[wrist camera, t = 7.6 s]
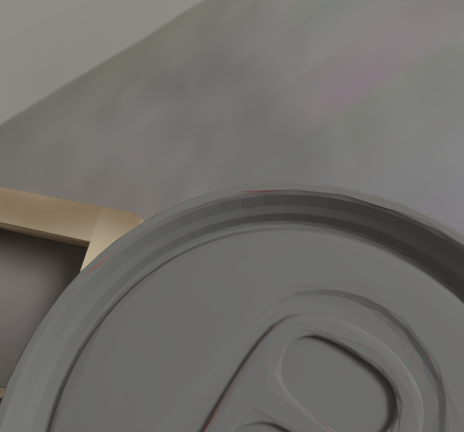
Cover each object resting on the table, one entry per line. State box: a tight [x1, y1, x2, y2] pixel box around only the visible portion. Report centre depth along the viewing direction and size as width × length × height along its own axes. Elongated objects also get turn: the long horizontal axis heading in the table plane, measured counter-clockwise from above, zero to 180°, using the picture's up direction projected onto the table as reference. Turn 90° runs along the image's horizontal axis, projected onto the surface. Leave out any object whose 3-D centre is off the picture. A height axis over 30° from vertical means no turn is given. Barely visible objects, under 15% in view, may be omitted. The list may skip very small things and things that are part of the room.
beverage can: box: [0, 182, 464, 432], centre depth 9 cm, size 7×7×12 cm
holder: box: [0, 187, 145, 398], centre depth 22 cm, size 13×13×4 cm
